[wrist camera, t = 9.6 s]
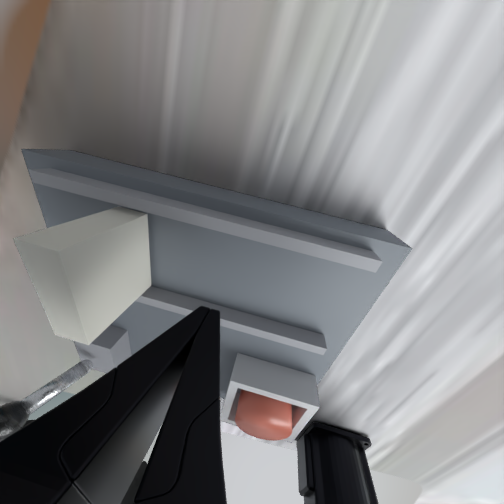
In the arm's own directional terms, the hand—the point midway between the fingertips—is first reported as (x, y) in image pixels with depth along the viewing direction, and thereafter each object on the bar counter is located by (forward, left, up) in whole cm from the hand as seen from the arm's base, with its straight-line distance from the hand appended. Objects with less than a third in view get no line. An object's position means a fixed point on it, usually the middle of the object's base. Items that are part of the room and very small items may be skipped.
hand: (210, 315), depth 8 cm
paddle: (+6, 0, -3) cm, 7 cm away
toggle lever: (+9, +10, -2) cm, 14 cm away
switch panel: (+2, +5, -6) cm, 8 cm away
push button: (-5, +10, -3) cm, 12 cm away
